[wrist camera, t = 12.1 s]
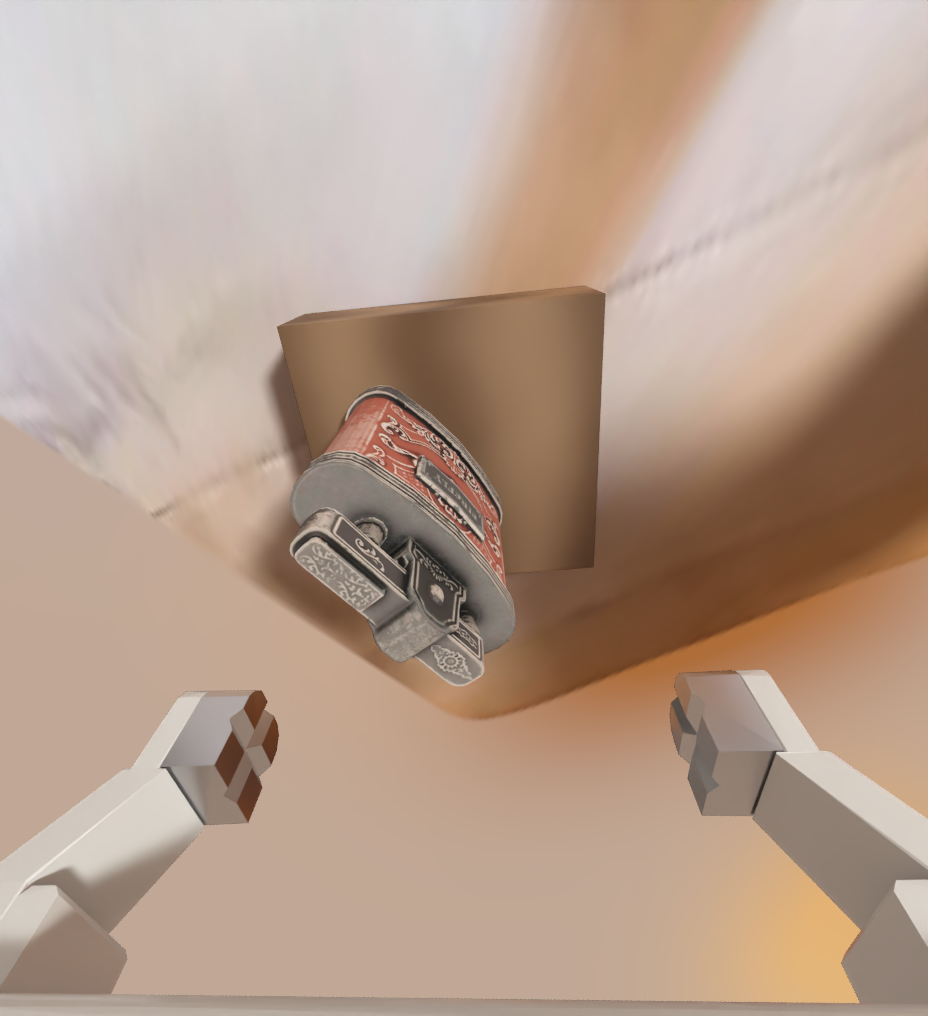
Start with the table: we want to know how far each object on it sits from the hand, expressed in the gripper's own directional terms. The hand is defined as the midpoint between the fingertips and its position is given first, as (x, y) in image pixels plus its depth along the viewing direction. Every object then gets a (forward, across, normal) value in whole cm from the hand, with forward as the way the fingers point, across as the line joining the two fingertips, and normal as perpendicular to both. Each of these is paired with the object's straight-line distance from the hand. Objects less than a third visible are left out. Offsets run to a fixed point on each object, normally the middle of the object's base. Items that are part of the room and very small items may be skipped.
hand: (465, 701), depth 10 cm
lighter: (+12, +2, 0) cm, 13 cm away
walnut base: (+16, +1, 0) cm, 16 cm away
